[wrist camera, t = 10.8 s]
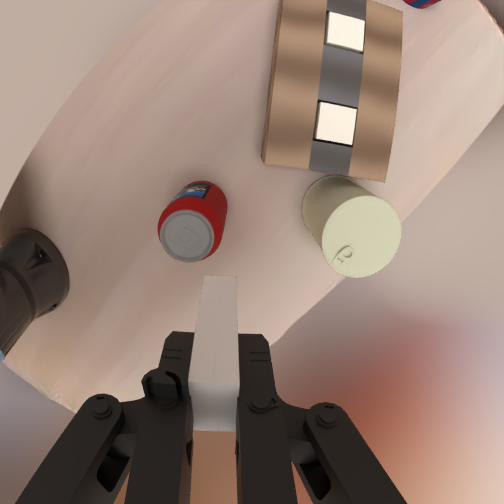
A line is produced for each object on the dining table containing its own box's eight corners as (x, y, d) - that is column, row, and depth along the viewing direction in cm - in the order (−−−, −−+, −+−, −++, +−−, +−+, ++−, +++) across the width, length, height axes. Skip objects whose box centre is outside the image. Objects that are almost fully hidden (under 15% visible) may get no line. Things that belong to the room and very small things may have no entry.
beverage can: (196, 169, 38) (177, 189, 27) (238, 200, 40) (235, 231, 29) (168, 209, 40) (141, 243, 29) (208, 238, 42) (195, 280, 31)
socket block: (363, 172, 38) (385, 182, 32) (261, 157, 38) (264, 164, 31) (380, 25, 30) (402, 11, 23) (279, 1, 29) (285, -20, 22)
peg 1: (313, 55, 32) (327, 42, 25) (315, 28, 30) (329, 11, 24) (343, 61, 32) (362, 50, 26) (345, 35, 30) (364, 20, 24)
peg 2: (303, 135, 36) (316, 138, 30) (307, 105, 34) (321, 102, 28) (334, 140, 36) (351, 145, 30) (338, 111, 35) (356, 109, 28)
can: (287, 206, 40) (303, 239, 29) (338, 161, 38) (373, 177, 27) (329, 251, 43) (355, 295, 32) (376, 210, 41) (417, 241, 30)
